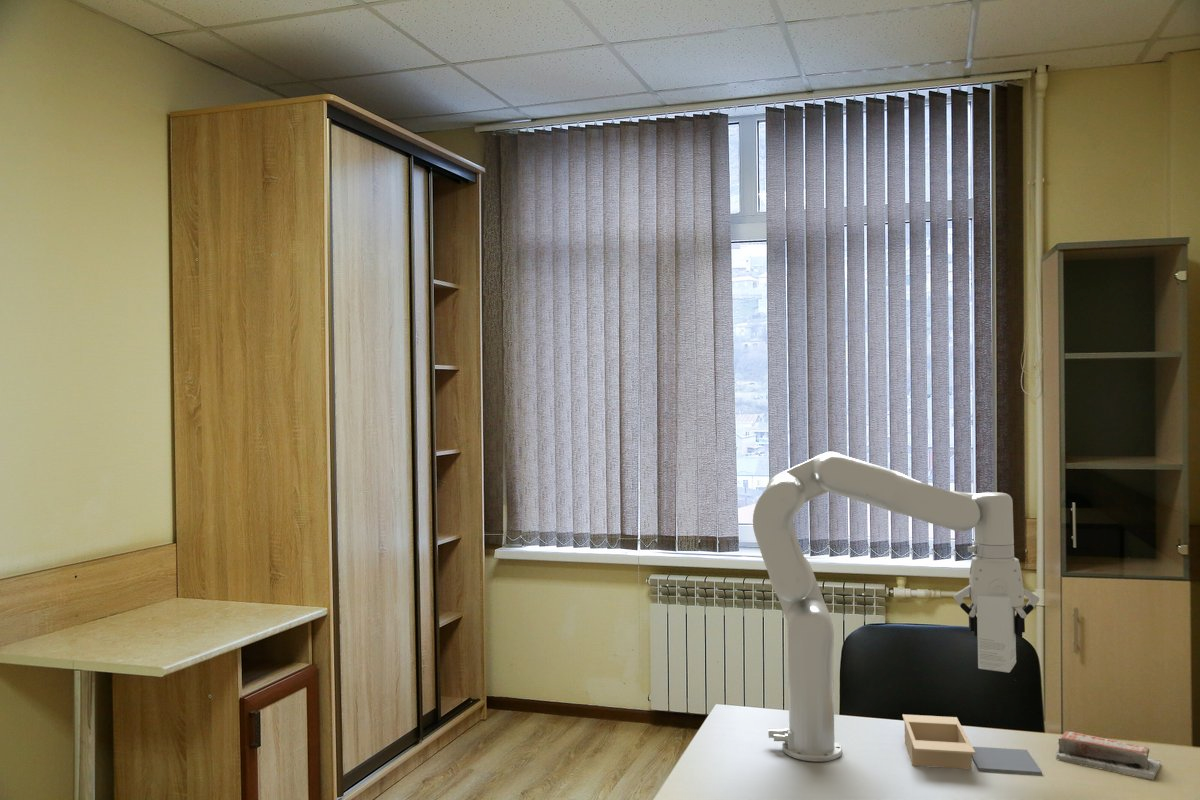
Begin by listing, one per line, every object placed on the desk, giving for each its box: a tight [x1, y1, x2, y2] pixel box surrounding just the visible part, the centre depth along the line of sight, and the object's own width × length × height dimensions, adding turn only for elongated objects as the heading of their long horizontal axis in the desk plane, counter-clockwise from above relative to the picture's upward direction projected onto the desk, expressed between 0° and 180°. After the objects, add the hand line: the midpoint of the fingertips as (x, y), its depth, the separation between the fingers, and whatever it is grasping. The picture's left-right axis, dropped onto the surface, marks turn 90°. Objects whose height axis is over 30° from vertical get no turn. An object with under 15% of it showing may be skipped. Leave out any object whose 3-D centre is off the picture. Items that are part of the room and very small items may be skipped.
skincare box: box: [976, 595, 1017, 674], centre depth 190 cm, size 8×7×16 cm
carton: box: [902, 713, 975, 770], centre depth 194 cm, size 12×21×5 cm, turn 168°
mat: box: [971, 746, 1043, 776], centre depth 190 cm, size 12×12×1 cm
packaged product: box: [1055, 730, 1161, 780], centre depth 189 cm, size 18×5×10 cm
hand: (996, 634), depth 190 cm, fingers closed on skincare box, 8 cm apart
